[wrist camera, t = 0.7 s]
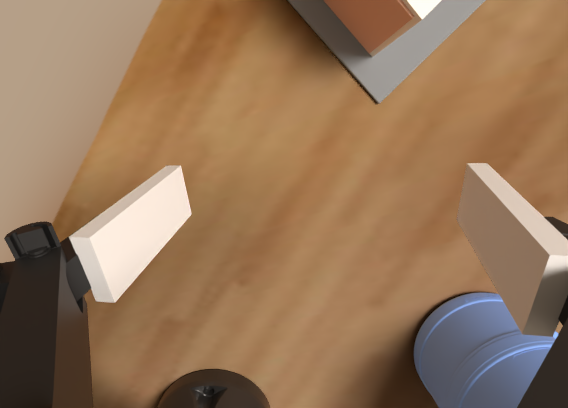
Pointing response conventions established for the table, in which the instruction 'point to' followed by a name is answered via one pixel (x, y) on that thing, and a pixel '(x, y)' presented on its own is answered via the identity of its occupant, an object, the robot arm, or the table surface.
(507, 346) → the water jug
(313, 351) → the table surface
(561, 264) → the robot arm
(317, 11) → the rubber mat
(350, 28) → the wooden plaque
